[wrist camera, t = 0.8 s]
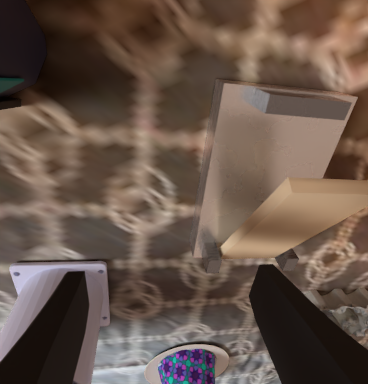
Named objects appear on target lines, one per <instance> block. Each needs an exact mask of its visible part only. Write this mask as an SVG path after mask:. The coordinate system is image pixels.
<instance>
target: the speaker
mask: <svg viewBox="0 0 368 384" xmlns="http://www.w3.org/2000/svg"><path fill="white" fill-rule="evenodd" d="M46 55H47V51H46V42H45V35H44V34H43V32H42V30H41V28H40V26H39V25H38V23H37V21H36V19H35V17H34V16H33V14H32V12H31V10H30V9H29V7H28V5H27V3H26V1H25V0H0V110H2V109H8V108H14V107H21V100H20V99H16V98H11V97H6V96H9V95H11V94H14V93H16V92H18V91H20V90H22V89H25V88H27V87H29V86H31V85H33V84H35V83H36V80H37V78H38V75H39V73H40V70H41V68H42V65H43V63H44V60H45V58H46Z"/></svg>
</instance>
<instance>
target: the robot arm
mask: <svg viewBox="0 0 368 384" xmlns="http://www.w3.org/2000/svg"><path fill="white" fill-rule="evenodd" d="M9 270H10V273H11V276H12V279H13V282H14V285H15V288H16V291H17V293H18V298H17V300H16V302H15V304H14V306H13V308H12V310H11V312H10V314H9V316H8V318H7V320H6V322H5V324H4V326H3V328H2V330H1V332H0V384H91V380H92V374H93V368H94V361H95V355H96V348H97V342H98V336H99V329H100V326H108V325H109V324H110V308H109V292H108V276H107V264H106V263H105V262H103V261H82V262H33V263H13V264H12V265H11V266H10V268H9ZM18 272H19V273H18ZM249 298H250V302H251V306H252V309H253V313H254V316H255V319H256V322H257V325H258V327H259V330H260V332H261V334H262V337H263V339H264V342H265V344H266V347H267V349H268V351H269V354H270V356H271V359H272V361H273V363H274V366H275V368H276V371H277V373H278V375H279V378H280V381H281V383H282V384H368V350H367V349H366V348H364V347H363V346H362V345H361V344H359V343H358V342H357V341H356V340H354V339H353V338H352V337H351V336H349V335H348V334H347V333H346V332H345V331H343V330H342V329H341V328H340V327H339V326H338V325H337V324H335V323H334V322H333V321H332V320H331V319H330V318H329V317H327V316H326V315H325V314H324V313H323V312H322V311H321V310H320V309H319V308H318V307H316V306H315V305H314V304H313V303H312V302H311V301H310V300H309V299H308V298H307V297H306V296H305V295H304V294H303V293H302V292H301V291H300V290H299V289H298V288H297V287H296V286H295V285H294V284H293V283H292V282H290V281H289V280H288V279H287V278H286V277H285V276H284V275H283V274H282V273H281V272H280V271H279V270H278V269H277V268H276V267H275V266H274V265H273V264H267V265H259V268H258V271H257V274H256V277H255V279H254V282H253V285H252V288H251V291H250V294H249Z"/></svg>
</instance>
